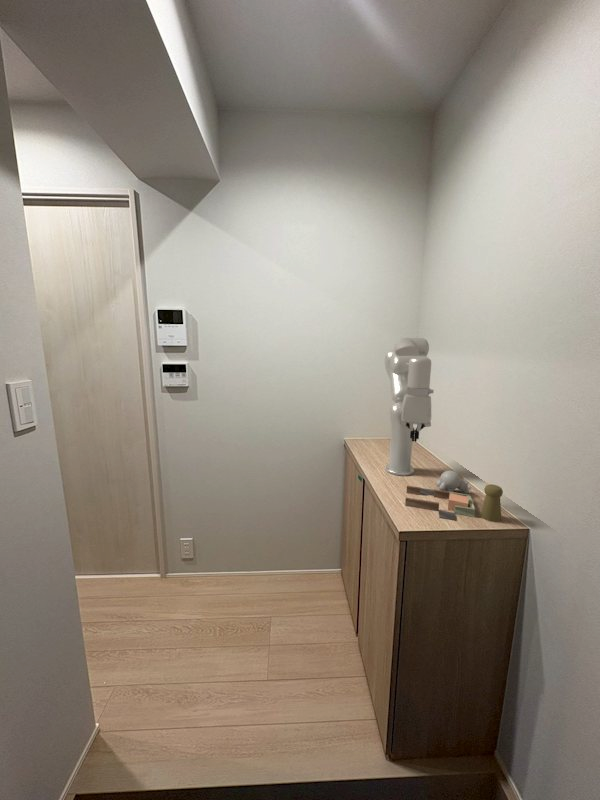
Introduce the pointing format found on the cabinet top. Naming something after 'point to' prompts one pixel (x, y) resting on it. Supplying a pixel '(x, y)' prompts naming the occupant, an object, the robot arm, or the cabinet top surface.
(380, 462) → the cabinet top surface
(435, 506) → the trap lane
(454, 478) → the toy rhinoceros
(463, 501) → the salmon block
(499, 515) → the cork
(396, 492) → the cabinet top surface
